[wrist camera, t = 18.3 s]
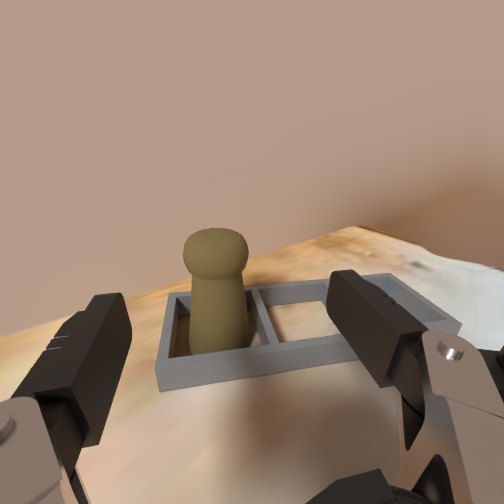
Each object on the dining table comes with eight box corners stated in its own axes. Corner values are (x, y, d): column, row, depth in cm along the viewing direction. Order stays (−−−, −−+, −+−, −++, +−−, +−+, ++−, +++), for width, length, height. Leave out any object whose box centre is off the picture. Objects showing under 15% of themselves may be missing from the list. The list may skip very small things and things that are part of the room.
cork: (206, 313, 27) (199, 218, 22) (258, 325, 25) (262, 225, 21) (175, 355, 22) (158, 241, 17) (238, 373, 20) (239, 254, 15)
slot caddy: (384, 289, 32) (389, 273, 31) (452, 344, 24) (462, 324, 23) (171, 312, 27) (169, 293, 26) (159, 392, 18) (154, 369, 17)
